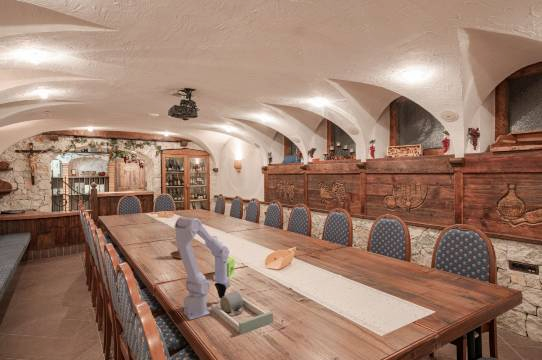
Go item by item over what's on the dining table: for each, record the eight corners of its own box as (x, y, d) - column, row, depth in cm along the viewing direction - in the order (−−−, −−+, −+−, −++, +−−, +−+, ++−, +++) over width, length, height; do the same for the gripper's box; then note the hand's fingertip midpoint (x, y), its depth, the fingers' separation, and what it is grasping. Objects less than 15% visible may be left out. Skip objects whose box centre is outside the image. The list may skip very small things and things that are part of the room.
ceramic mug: (218, 310, 142) (218, 293, 142) (232, 304, 148) (232, 288, 148) (233, 317, 135) (233, 300, 135) (247, 311, 141) (247, 294, 140)
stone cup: (194, 257, 232) (193, 237, 232) (179, 260, 224) (178, 240, 224) (184, 253, 243) (183, 234, 243) (169, 256, 235) (169, 237, 235)
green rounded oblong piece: (228, 281, 181) (228, 265, 180) (212, 279, 183) (212, 264, 182) (238, 271, 199) (238, 256, 198) (223, 269, 201) (223, 255, 200)
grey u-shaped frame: (241, 334, 121) (240, 323, 121) (211, 309, 143) (211, 301, 143) (273, 322, 130) (272, 312, 130) (240, 301, 152) (240, 293, 152)
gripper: (235, 272, 147) (236, 300, 148) (221, 265, 159) (222, 291, 160) (222, 275, 143) (222, 304, 144) (208, 267, 155) (209, 294, 155)
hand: (221, 297), depth 151 cm, fingers closed
